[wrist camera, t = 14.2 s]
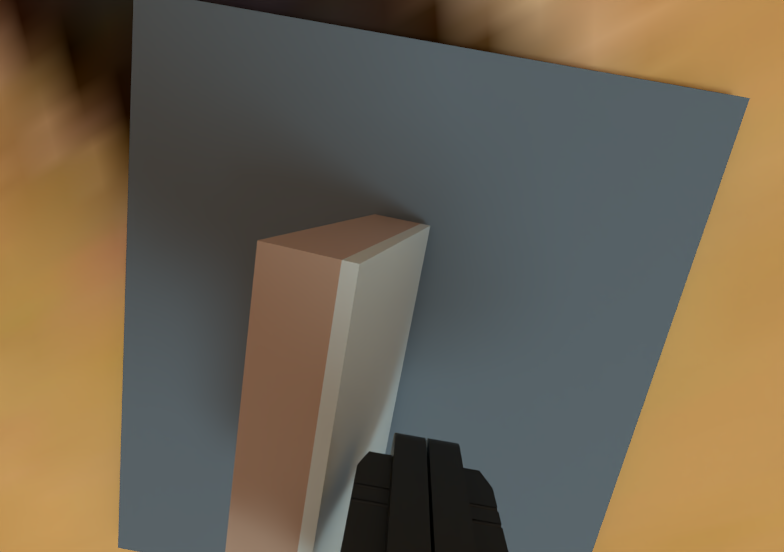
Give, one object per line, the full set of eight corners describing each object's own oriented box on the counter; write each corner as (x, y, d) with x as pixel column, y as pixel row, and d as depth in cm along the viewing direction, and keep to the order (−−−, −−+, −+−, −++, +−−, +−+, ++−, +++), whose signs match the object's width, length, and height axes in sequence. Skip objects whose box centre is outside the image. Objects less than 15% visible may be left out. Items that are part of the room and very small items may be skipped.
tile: (374, 213, 14) (257, 240, 7) (430, 225, 14) (359, 263, 7) (330, 481, 16) (211, 683, 10) (376, 496, 16) (285, 717, 9)
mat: (145, -3, 13) (133, -11, 13) (734, 101, 13) (749, 98, 13) (127, 535, 18) (118, 547, 18) (559, 616, 18) (564, 631, 17)
